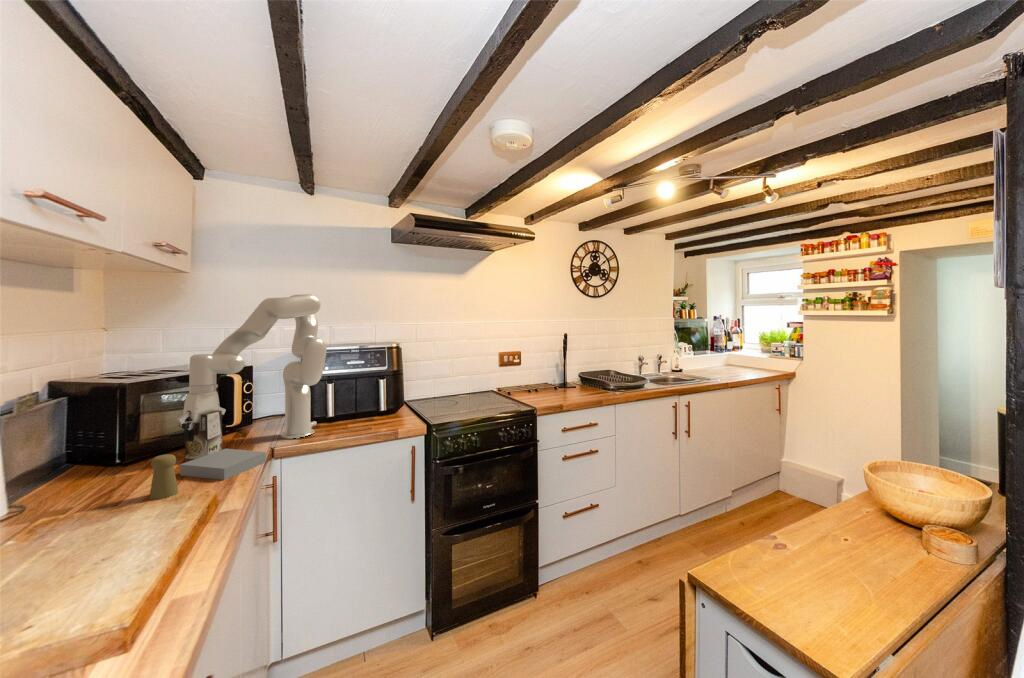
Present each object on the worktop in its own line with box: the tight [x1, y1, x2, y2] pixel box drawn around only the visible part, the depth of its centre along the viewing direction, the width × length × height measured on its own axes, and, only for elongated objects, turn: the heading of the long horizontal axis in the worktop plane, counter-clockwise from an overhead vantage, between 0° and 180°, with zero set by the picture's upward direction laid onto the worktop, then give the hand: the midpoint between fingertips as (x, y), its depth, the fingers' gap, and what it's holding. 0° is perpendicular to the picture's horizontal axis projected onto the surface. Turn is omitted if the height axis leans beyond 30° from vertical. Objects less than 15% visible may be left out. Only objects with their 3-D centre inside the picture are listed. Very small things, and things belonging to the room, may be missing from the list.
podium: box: [179, 448, 267, 481], centre depth 128 cm, size 16×16×4 cm
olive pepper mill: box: [149, 453, 179, 500], centre depth 108 cm, size 6×6×11 cm
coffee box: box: [184, 410, 223, 460], centre depth 139 cm, size 9×6×16 cm
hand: (202, 437), depth 139 cm, fingers open, 9 cm apart
